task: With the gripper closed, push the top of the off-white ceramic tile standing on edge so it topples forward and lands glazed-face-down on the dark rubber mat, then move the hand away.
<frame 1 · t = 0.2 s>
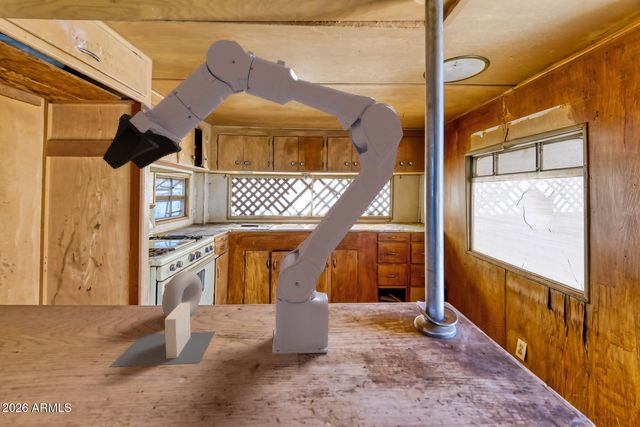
hand: (123, 164, 43), 31 cm above the countertop, tool tilted 45°, fingers open, 7 cm apart
tile: (179, 347, 46), resting on mat
mat: (168, 349, 46), on the countertop
donut: (184, 319, 57), on the countertop
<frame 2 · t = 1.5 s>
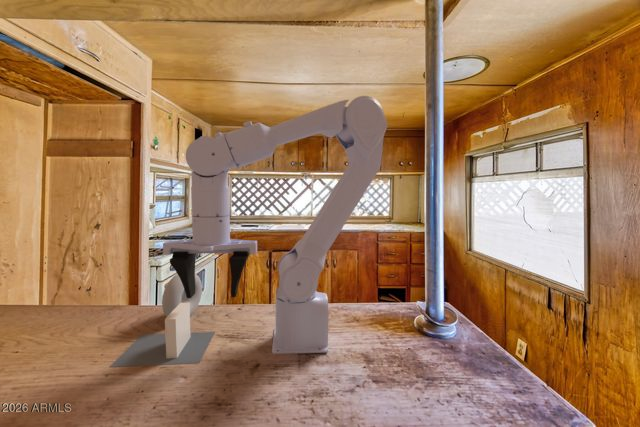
hand: (212, 295, 46), 9 cm above the countertop, tool pointing down, fingers open, 6 cm apart
nothing on the countertop moved.
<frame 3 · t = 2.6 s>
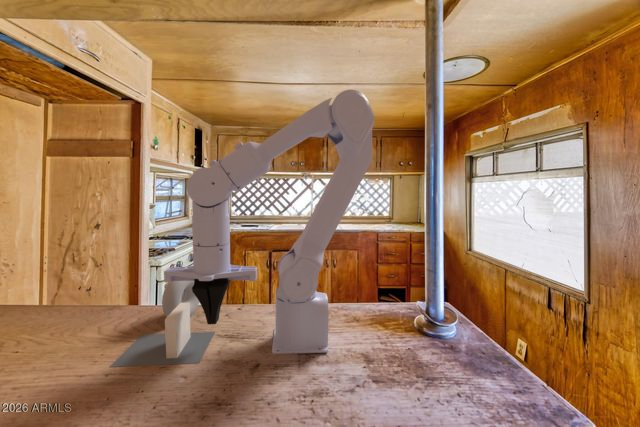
hand: (213, 321, 47), 5 cm above the countertop, tool pointing down, fingers closed
nothing on the countertop moved.
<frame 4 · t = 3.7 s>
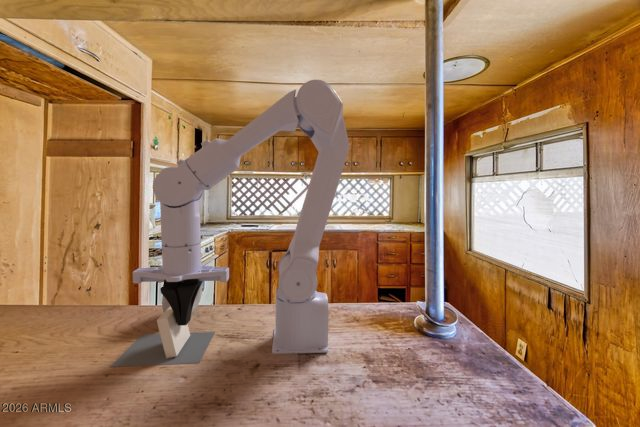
hand: (184, 322, 46), 5 cm above the countertop, tool pointing down, fingers closed
tile: (179, 346, 46), point 1 cm above the countertop, tilted 11°, touching mat
everything else where it was.
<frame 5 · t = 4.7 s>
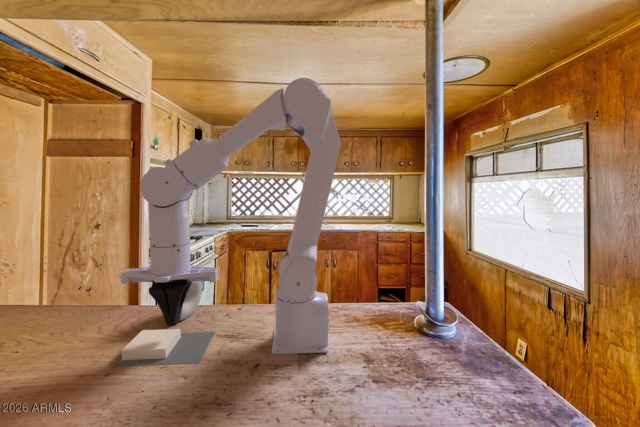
hand: (173, 323, 46), 5 cm above the countertop, tool pointing down, fingers closed
tile: (173, 342, 46), point 1 cm above the countertop, tilted 90°, touching mat
everything else where it was.
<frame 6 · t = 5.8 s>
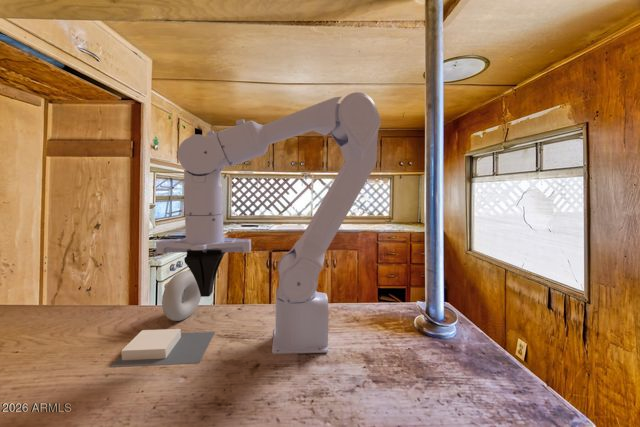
hand: (206, 294, 46), 10 cm above the countertop, tool pointing down, fingers closed
nothing on the countertop moved.
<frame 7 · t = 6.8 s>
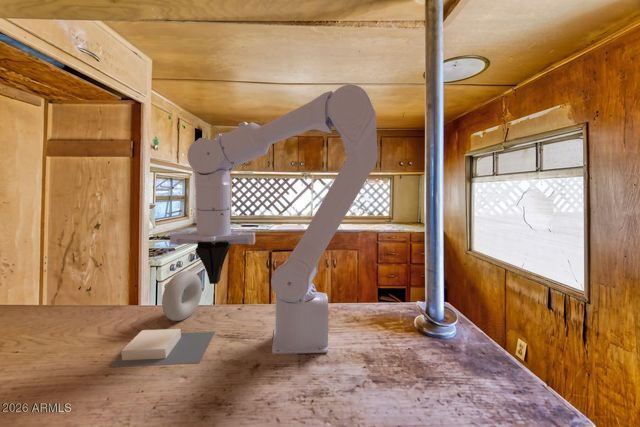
hand: (214, 282, 51), 10 cm above the countertop, tool pointing down, fingers closed
nothing on the countertop moved.
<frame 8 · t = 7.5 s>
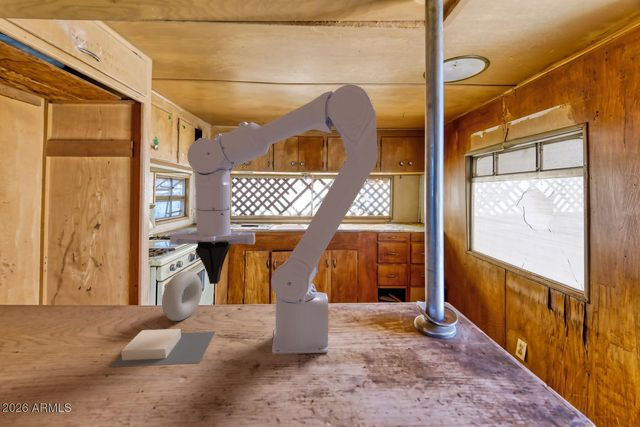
hand: (214, 282, 51), 10 cm above the countertop, tool pointing down, fingers closed
nothing on the countertop moved.
at the end: tile tilted 90°; tile inside the target area (1.4 cm from its centre), point 1.2 cm above the countertop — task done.
